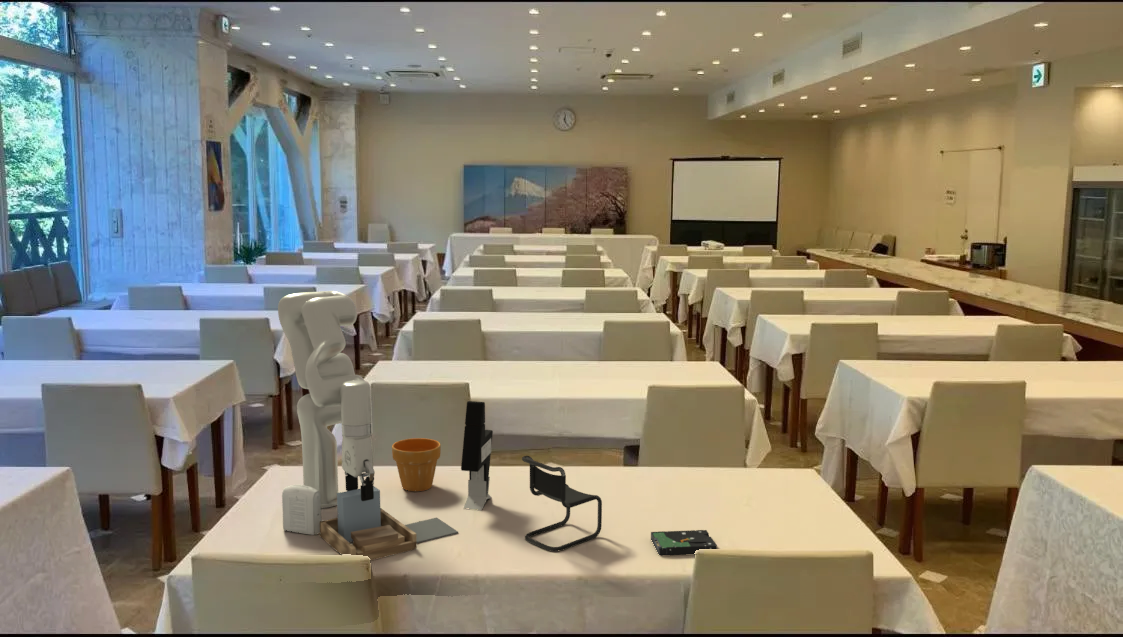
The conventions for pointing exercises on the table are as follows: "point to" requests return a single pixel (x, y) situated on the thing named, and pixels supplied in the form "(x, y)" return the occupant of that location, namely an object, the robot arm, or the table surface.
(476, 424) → the award
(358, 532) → the offcut stack
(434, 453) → the flower pot
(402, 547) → the wooden frame
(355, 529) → the rectangular block
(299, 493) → the white rounded tombstone
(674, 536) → the disk drive
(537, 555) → the table surface
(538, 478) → the chair
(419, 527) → the mat
